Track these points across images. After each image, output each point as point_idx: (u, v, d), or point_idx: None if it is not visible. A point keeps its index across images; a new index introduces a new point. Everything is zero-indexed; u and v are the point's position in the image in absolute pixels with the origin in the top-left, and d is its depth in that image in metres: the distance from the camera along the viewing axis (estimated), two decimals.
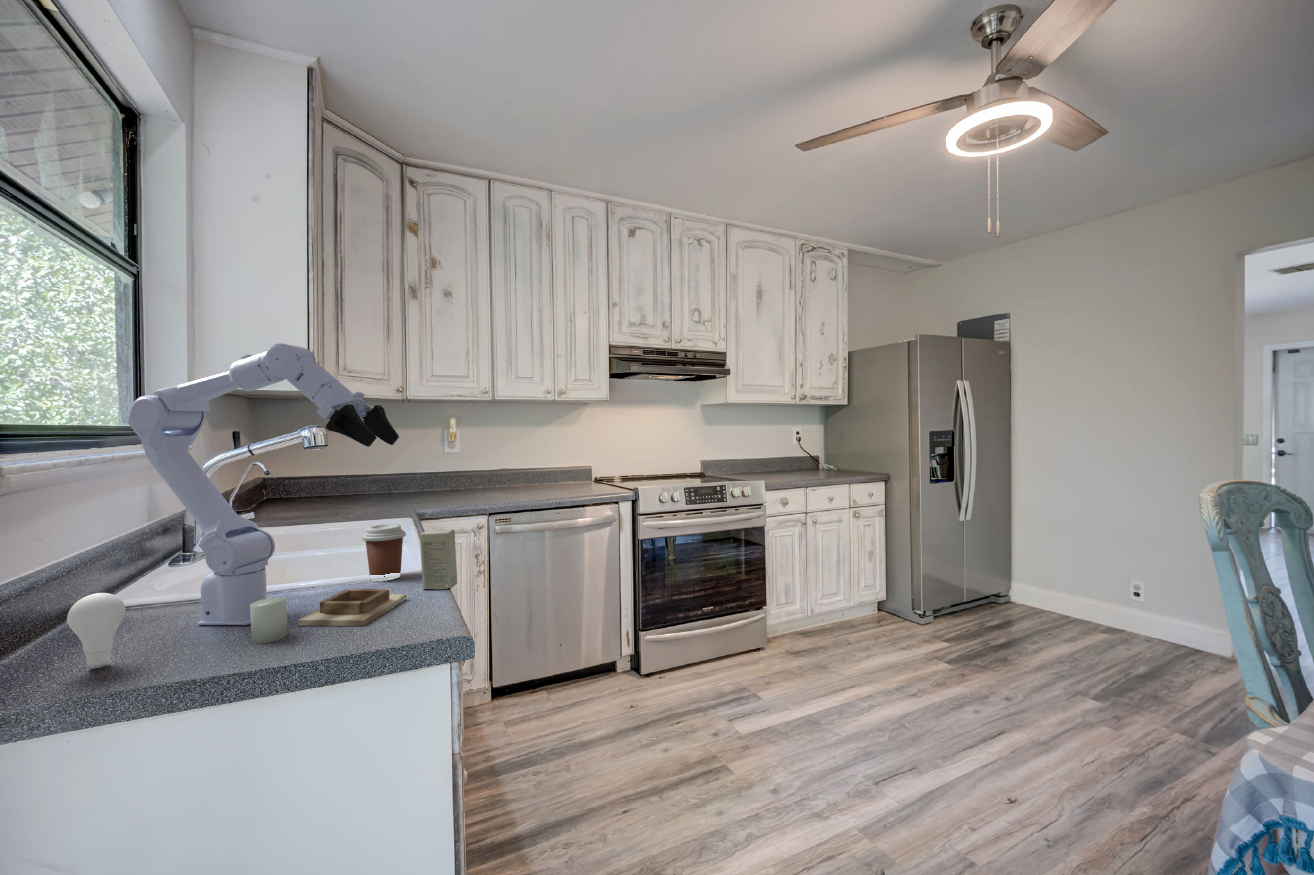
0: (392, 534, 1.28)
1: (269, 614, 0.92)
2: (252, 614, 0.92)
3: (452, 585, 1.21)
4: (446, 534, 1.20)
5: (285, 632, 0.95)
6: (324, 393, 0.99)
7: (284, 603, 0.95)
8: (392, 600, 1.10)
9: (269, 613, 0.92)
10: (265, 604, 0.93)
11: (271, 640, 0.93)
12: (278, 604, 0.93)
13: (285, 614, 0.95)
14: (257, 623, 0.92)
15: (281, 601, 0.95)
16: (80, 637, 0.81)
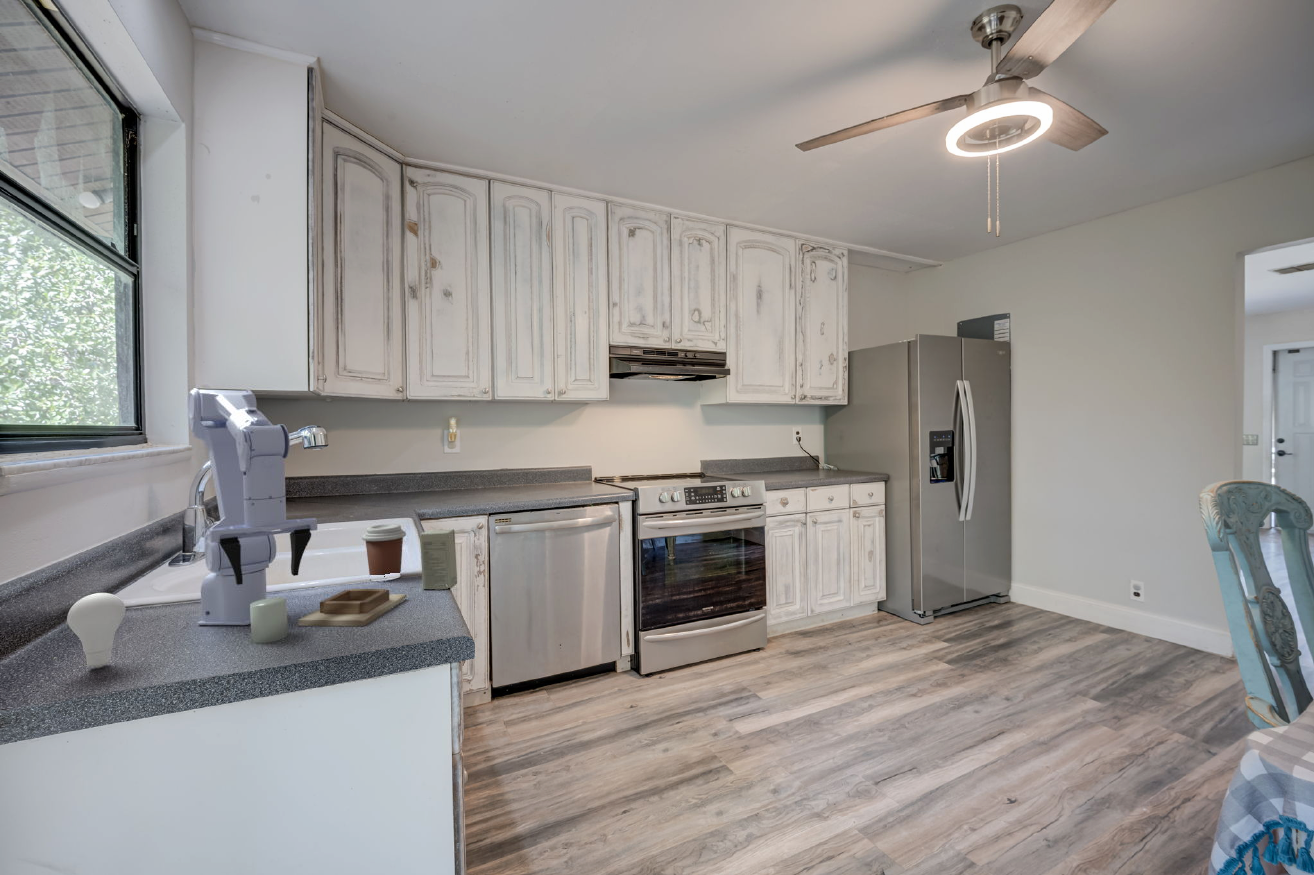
0: (392, 534, 1.28)
1: (269, 614, 0.92)
2: (252, 614, 0.92)
3: (452, 585, 1.21)
4: (446, 534, 1.20)
5: (285, 632, 0.95)
6: (245, 506, 0.92)
7: (284, 603, 0.95)
8: (392, 600, 1.10)
9: (269, 614, 0.92)
10: (265, 604, 0.93)
11: (271, 640, 0.93)
12: (278, 604, 0.93)
13: (285, 614, 0.95)
14: (257, 623, 0.92)
15: (281, 601, 0.95)
16: (80, 637, 0.81)
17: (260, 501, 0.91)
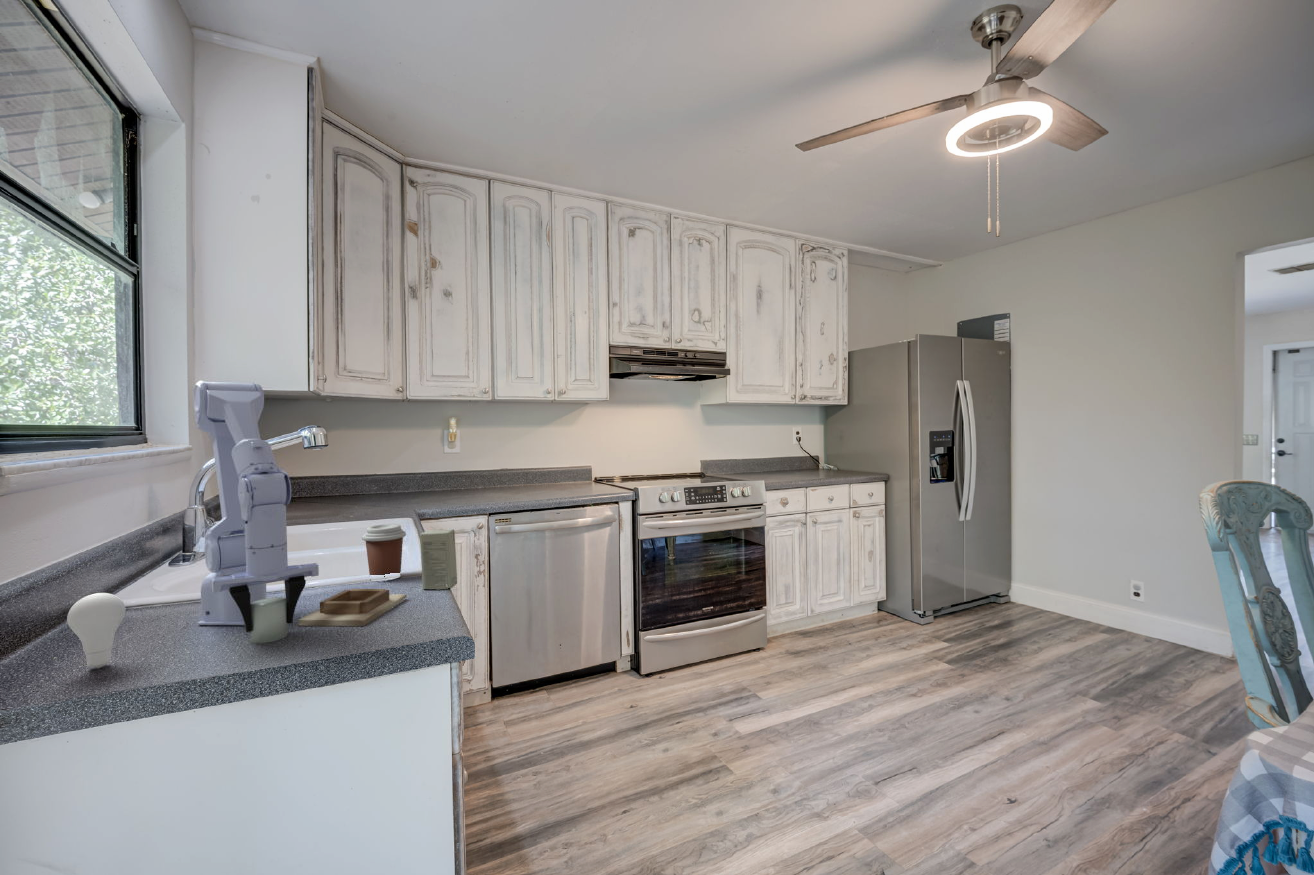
0: (392, 534, 1.28)
1: (269, 614, 0.92)
2: (252, 613, 0.92)
3: (452, 585, 1.21)
4: (446, 534, 1.20)
5: (285, 632, 0.95)
6: (246, 555, 0.92)
7: (284, 603, 0.95)
8: (392, 600, 1.10)
9: (269, 613, 0.92)
10: (265, 604, 0.93)
11: (271, 640, 0.93)
12: (278, 604, 0.93)
13: (285, 614, 0.95)
14: (257, 623, 0.92)
15: (281, 601, 0.95)
16: (80, 637, 0.81)
17: (262, 550, 0.91)
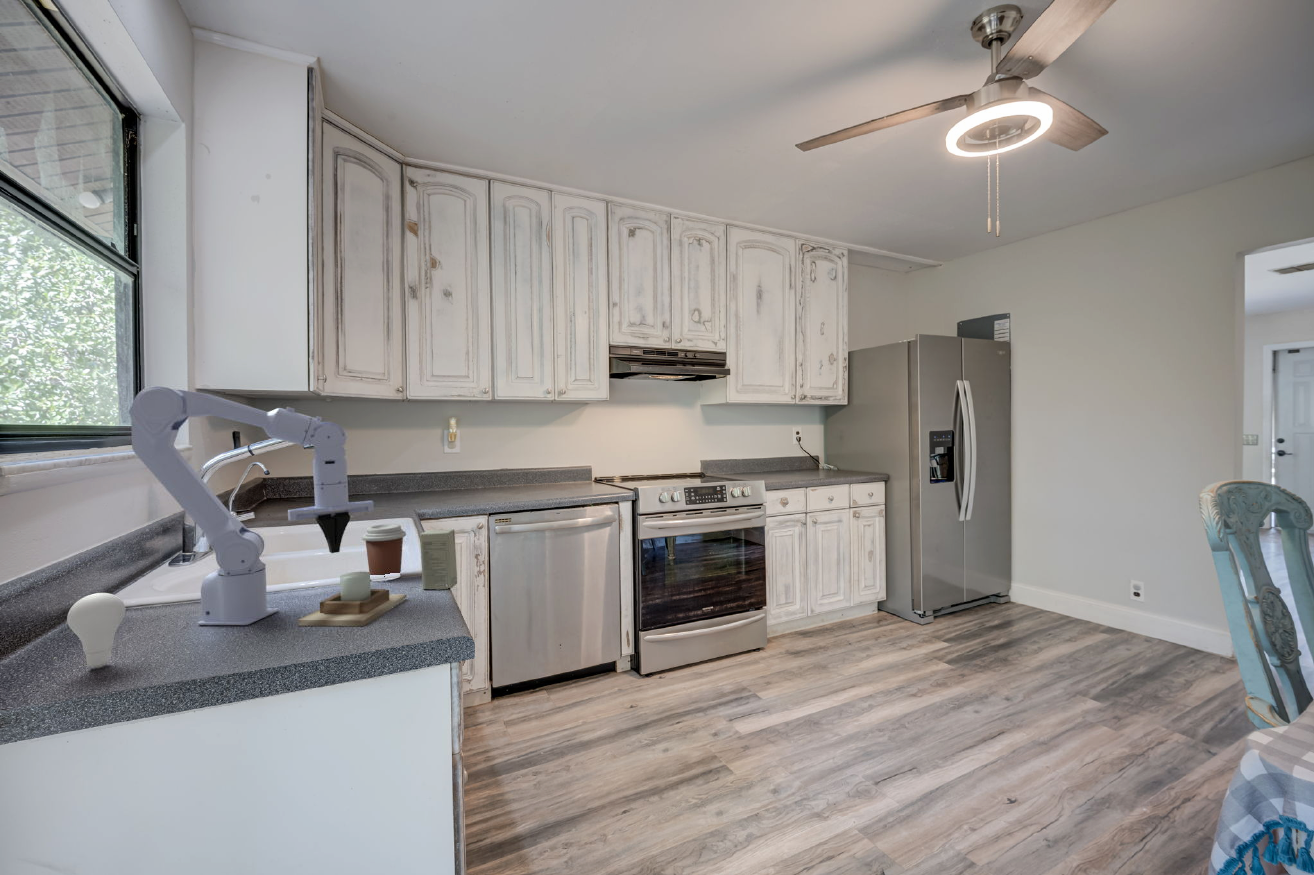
0: (392, 534, 1.28)
1: (357, 585, 1.05)
2: (343, 584, 1.05)
3: (452, 585, 1.21)
4: (446, 534, 1.20)
5: None
6: (315, 490, 1.09)
7: (369, 576, 1.07)
8: (392, 600, 1.10)
9: (357, 585, 1.05)
10: (353, 576, 1.06)
11: None
12: (364, 577, 1.06)
13: (369, 586, 1.07)
14: (347, 593, 1.04)
15: (366, 574, 1.07)
16: (80, 637, 0.81)
17: (328, 486, 1.08)
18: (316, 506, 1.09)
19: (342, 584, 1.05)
